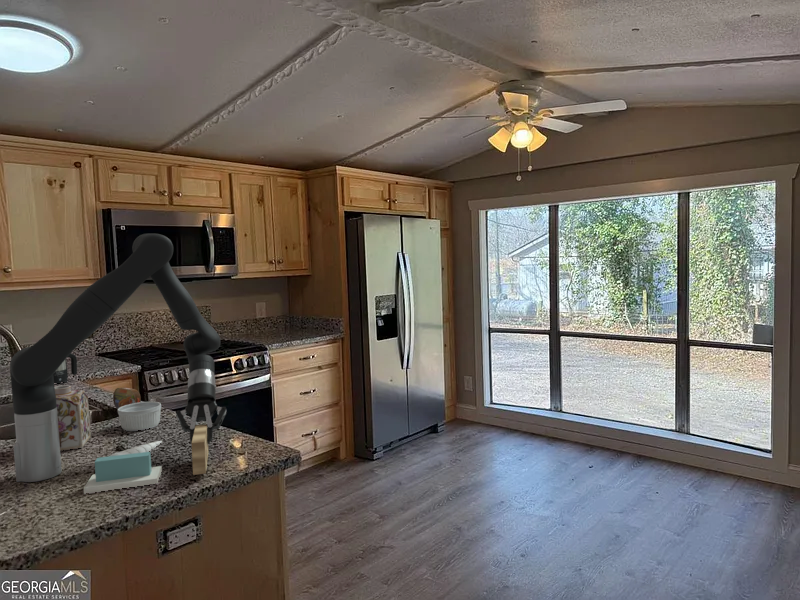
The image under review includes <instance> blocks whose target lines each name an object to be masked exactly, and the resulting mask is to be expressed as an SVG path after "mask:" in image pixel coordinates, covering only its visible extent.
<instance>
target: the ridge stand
mask: <svg viewBox="0 0 800 600" xmlns="http://www.w3.org/2000/svg"><path fill="white" fill-rule="evenodd" d="M151 457H152V455H151V451H150V452H143V453H134V454H126V455H117V456H110V455H109V456H101V457H97V458H96V459H95V461H94V471H95V474H92V475H91V477H90V478H89V480H87V482H86V484H85V485H84V487H83V494H84V495H87V494H86V493H89V494H95V492H97V493H102V492H101V491H105V492H109V491H108V490H112V491H115V490H114V489H120V490H123V489H122V488H127V489H130V488H129V487H135V488H138V487H137V486H143V487H145V486H144V485H149V484H155V483H158V484H159V482H158V480H159V481H160V479H159V477H160V478H161V476H160V475H162V473H163V466H162V465H159V466H152V459H151ZM161 472H162V473H161Z"/></svg>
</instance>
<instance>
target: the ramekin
mask: <svg viewBox="0 0 800 600" xmlns="http://www.w3.org/2000/svg"><path fill="white" fill-rule="evenodd" d="M161 409H162V404H161V402H158V401H142V402H140V403H133V404H129V405H125V406H122V407H120V408H118V409H117V414H118V418H119V422H120V427H121V429H123V430H124V431H125V430H126V431H125V432H139V431H138V430H141V431H146V430H149V428H150V429H153V428H156V427H157V426H158V425H159V424H160V422H161ZM145 429H146V430H145Z"/></svg>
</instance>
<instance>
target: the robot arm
mask: <svg viewBox="0 0 800 600" xmlns="http://www.w3.org/2000/svg"><path fill="white" fill-rule="evenodd" d="M131 247H132V253H131V255H130V256H128V258H127V259H126V260H125V261H124V262H122V264H120V265H119V266H118V267H115V269H113V270H111V271H110V272H108V273H107V274H105V275H103V276H102V277H101V278H99V279H98V280H96V281H95V282H93V283H92V284H91V285H90V286H89V285H88V287H86V289H85V290H84V291H83V292H82V293H80V295H78V296H77V298H75V299H74V301H72V303H71V304H70V305H69V306H68V308H66V310H65V311H64V312H63V313H62V315H61V316H60V318H58V321H57V322H56V323H55V325H54V326H53V327H52V328H51V329H50V330H49V331H48V332H47V333H46V334H45V335H44V336H43V337H41V338H40V339H39V340H38V341H36V342H35V343H34V344H33V345H31V346H29V347H25V348H24V347H23V348H21V349H20V350H18V351H17V352H16V353H14V354H13V356H12V358H11V360H10V363H9V370H10V371H9V373H10V374H9V375H10V384H11V385H10V387H11V396H12V397H11V398H12V399H11V400H12V405H13V417H14V429H15V439H16V441H15V443H14V444H13V456H14V457H13V459H14V469H15V470H14V471H15V480H16V482H23V483H31V482H33V483H34V482H41V481H44V480H49V479H51V478H54V477H56V476H58V475H60V474H61V473H62V472H63V471H62V458H61V451H60V442H59V429H58V416H57V402H56V395H55V388H54V387H55V385H54V377H53V374H54V373H55V371H56V370H57V369H58V368H59V366H60V365H61V364H62V363H63V361H64V360H65V359H66V360H67V358H69V357H68V356H69V354H70V353H72V352H73V351H74V350H75V349H76V348H77V347H78V346H80V344H82V343H83V342H84V341H85V340H86V339H88V338H89V337H90V336H91V335H93V334H94V333H95V332H96V331H98V329H99V328H100V327H102V325H104V324H105V323H106V321H108V320H109V319H110V318H111V317H112V316H113V315H114V314H115V313H116V312H117V311H118V309H120V308H121V307H122V305H124V303H125V302H127V300H129V298H130V297H131V296H132V295H133V294H134V293H135V292H136V290H138V288H139V287H140V286H141V285H142V284H144V283H145V281H147V280H148V279H149V278H151V279H152V281H153V283H154V284H155V285H156V287H157V289H158V290H159V292H160V294H161V295H162V297H163V299H164V301H165V303H166V305H167V307H168V308H169V310H170V312H171V314H172V316H173V318H174V319H175V322H176V324H177V326H178V327H179V328H180V329H181V330H183V331H190V330H191V331H192V330H194V331H197V332H195V333H190V334H189V335H187V336H186V337H185V338H184V340H183V344H182V345H183V349H184V351H185V354H186V357H187V362H188V367H189V368H188V369H189V370H188V380H187V404H186V406H185V409H182V410H176V411H175V416H176V419H177V420H178V423H179V424H180V426H181V429H182V430H183V432H184V433H189V442H190V444H191V445H192V439H193V435H194V430H195V426H196V425H198V423H199V422H206V424H207V444H208V445H210V444H211V442H213V439H214V437H213V436H214V435H213V431H214V430H218V429H220V428H221V425H222V423H223V421H224V419H225V417H226V415H227V407H226V406H218V404H217V401H216V400H217V399H216V398H217V397H216V395H217V394H216V389H217V386H216V377H215V360H214V358H213V356H211V355H210V354H209V353H212V352H215V351H216V350H218V349H219V348H220V346H221V336H220V335H219V333H218V332H217V331H216V329H215V328H214V327H213V326H212V325H211V324H210V323H209V322H208V321H207V320H206V319H205V318H204V317H203V315H202V314H201V312H200V310H199V308H198V307H197V304H196V303H195V301H194V299H193V297H192V296H191V295H190V293H189V291H188V290H187V289H186V287H185V286H184V285H183V284H182V282H181V281H180V280H179V277H177V275H176V274H175V272H174V271H173V269H172V266H171V264H170V261H171V259H172V258H173V256H174V255H173V254H174V244H173V242H172V240H171V239H170V238H168V237H167V236H166V235H163V234H160V233H143V234H139V236H137V237H136V238H135V240H134V241H133V242H132V246H131ZM215 413H217V417H216V419H215V420H214V422H212V417H213V416H214V415H215ZM186 415H188V417H189V418H190V419H191V420H190V421H191V422H190V424H189V425H188V422H187V421H186Z"/></svg>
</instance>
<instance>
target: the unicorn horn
mask: <svg viewBox="0 0 800 600" xmlns="http://www.w3.org/2000/svg"><path fill="white" fill-rule="evenodd" d="M160 443H161V444H162V443H163V441H162V440H157V441H153V442H149V443H146V444H141V445H138V446H134V447H131V448H128V449H125V450H121V451H117V452H114V453H111V454H110V455H109V456H117V455H126V454H134V453H143V452H149V451H150V452H151V451H152V450H151V449H153V450H154V449H155V448H157V447H158V446H159V445H161V444H160ZM156 446H157V447H156Z"/></svg>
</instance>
